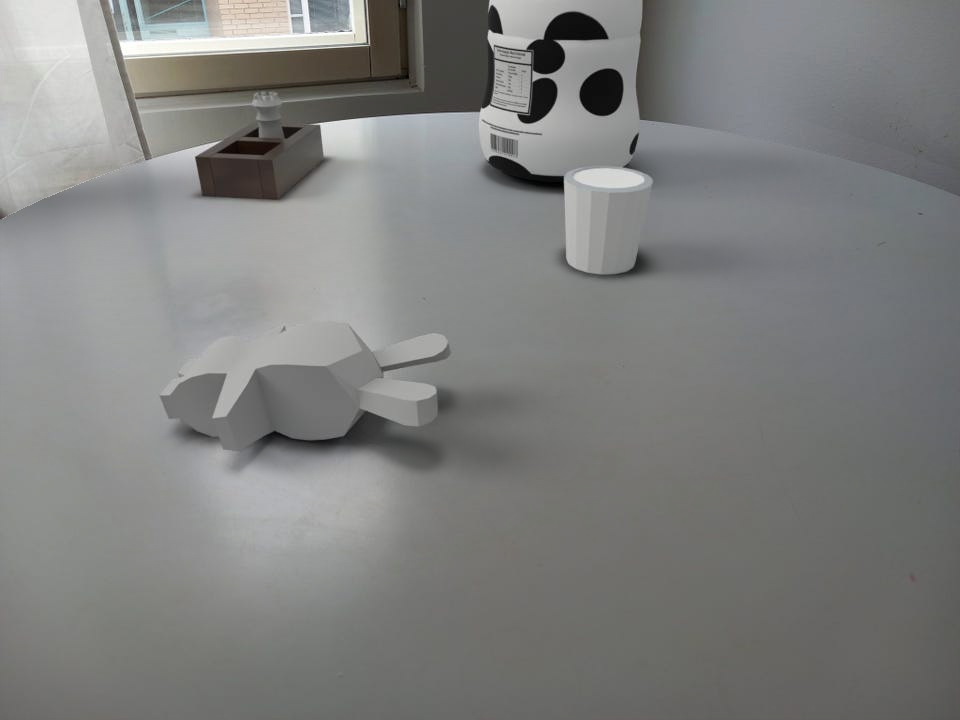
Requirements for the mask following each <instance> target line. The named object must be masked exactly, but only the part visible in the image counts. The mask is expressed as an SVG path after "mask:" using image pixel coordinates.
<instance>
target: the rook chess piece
mask: <svg viewBox="0 0 960 720" xmlns="http://www.w3.org/2000/svg"><path fill="white" fill-rule="evenodd" d="M260 94H261V95H260ZM268 94H269V95H267V92H266V91H261V92H260V93H259V92H256V93H255V92H254V94H253V100H252V102H251V106H252V107H253V108H254V109H255V111H256V117H255V120H256V122H258V126H259V138H282V139H285V138H284V134H283V130H282V126H281V123H282V119H283V116H282V115H281V114H280V108H281V106H282V105H283V101H282V100H281V99H280V98H279V93H278V92H275V91H269V92H268Z"/></svg>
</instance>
